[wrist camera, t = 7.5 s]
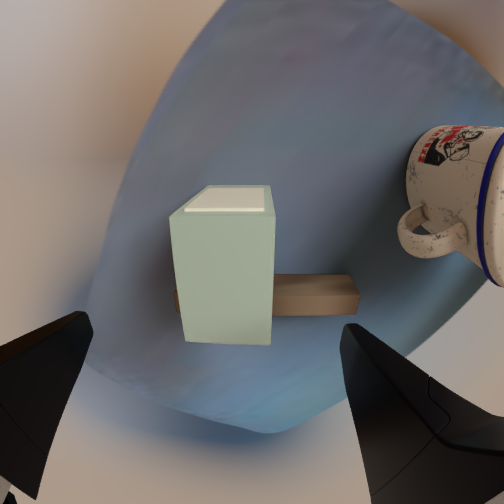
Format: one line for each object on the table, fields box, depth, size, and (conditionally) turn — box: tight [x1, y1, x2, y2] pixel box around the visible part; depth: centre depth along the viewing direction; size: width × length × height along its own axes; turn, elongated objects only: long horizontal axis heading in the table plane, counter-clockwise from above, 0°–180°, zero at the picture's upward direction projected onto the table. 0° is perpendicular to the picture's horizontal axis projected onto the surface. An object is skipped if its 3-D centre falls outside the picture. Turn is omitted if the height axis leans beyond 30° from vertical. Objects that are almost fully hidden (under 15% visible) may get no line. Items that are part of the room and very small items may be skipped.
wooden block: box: [174, 274, 360, 316], centre depth 19 cm, size 12×2×3 cm, turn 90°
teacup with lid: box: [397, 126, 504, 287], centre depth 11 cm, size 12×9×12 cm
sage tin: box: [169, 185, 275, 345], centre depth 15 cm, size 4×6×8 cm, turn 0°
